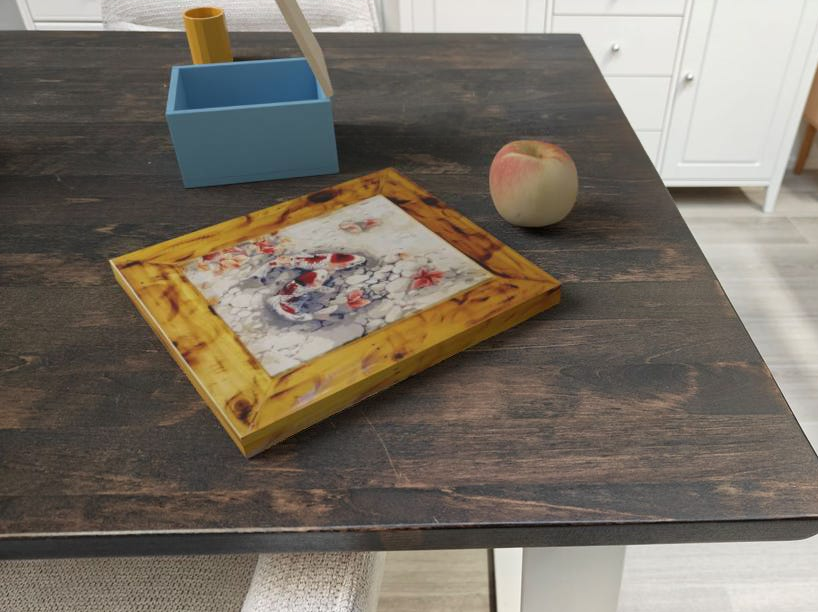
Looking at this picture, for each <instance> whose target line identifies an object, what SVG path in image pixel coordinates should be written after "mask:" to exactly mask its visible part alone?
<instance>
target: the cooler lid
mask: <svg viewBox="0 0 818 612" xmlns="http://www.w3.org/2000/svg"><path fill="white" fill-rule="evenodd" d="M274 2H275V3H276V5H277V8H278V9H279V11H280V13H281V15H282V17H283V19H284V21H285V23H286V24H287V26H288V28H289V30H290V31H291V34H292V35H293V38H294V39H295V41H296V43H297V45H298V47H299V48H300V51H301V53H302V55H303V56H304V57H305V58H306V60H307V62H308V64H309V65H310V67H311V69H312V71H313V73H314V75H315V77H316V79H317V80H318V82H319V84H320V86H321V88H322V90H323V92H324V94H325V95H326V97H327V98H329V97H330V98H331V97H333V96H334V90H333V87H332V83H331V79H330V76H329V71H328V67H327V64H326V61H325V57H324V53H323V50H322V48H321V46H320V44H319V42H318V39H317V38H316V36H315V34H314V32H313V30H312V28H311V26H310V24H309V23H308V20H307V19H306V17H305V15H304V13H303V11H302V9H301V7H300V5H299V3H298V1H297V0H274Z"/></svg>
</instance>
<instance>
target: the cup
mask: <svg viewBox="0 0 818 612" xmlns="http://www.w3.org/2000/svg"><path fill="white" fill-rule="evenodd" d="M181 16H182V21H183V25H184V30H185V33H186V38H187V42H188V47H189V51H190V55H191V60H192V65H200V64H214V63H229V62H235V61H234V55H233V50H232V45H231V38H230V34H229V29H228V24H227V19H226V14H225V10H224V9H223V8H220V7H218V6H217V7H216V6H196V7H192V8H189V9H186V10H183V12H182V13H181Z"/></svg>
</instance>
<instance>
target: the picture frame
mask: <svg viewBox="0 0 818 612" xmlns="http://www.w3.org/2000/svg"><path fill="white" fill-rule="evenodd" d="M108 261H109V263H110V267H111V269H112V272H113V275H114V277H115V280H116V282H117V283H118V284H119V286H120V287H121V289H123V291H124V292H125V295H126V296H127V297H128V298H129V299H130V301H131V302H132V304H133V305H134V306H135V308H136V309H137V311H138V312H139V314H141V316H142V318H143V319H144V320H145V322H146V323H147V324H148V326H149V327H150V328H151V330H152V331H153V333H154V334H155V336H157V338H158V339H159V341H160V342H161V344H162V345H163V346H164V347H165V349H166V350H167V352H168V351H169V352H168V353H169V355H170V356H171V357H172V358H173V360H174V361H175V363H176V362H177V363H176V365H178V367H179V366H180V367H179V368H180V370H181V371H182V370H183V371H182V373H183V374H184V375H185V374H186V375H185V376H186V377H188V378H187V379H188V380H189V382H190V381H191V382H190V384H191V385H192V386H193V387H194V389H195V388H196V389H195V390H196V392H197V393H198V394H199V395H200V397H201V398H202V399H203V401H204V402H205V404H206V405H207V406H208V408H209V410H210V411H211V413H213V415H214V417H216V419H217V420H218V422H219V421H220V422H219V423H220V424H221V426H222V427H223V429H224V430H225V431H226V433H227V434H228V435H229V437H230V438H231V440H232V441H233V443H236V444H235V445H236V447H237V448H238V450H240V452H241V453H242V455H243V456H244V458H245V459H246V460H248V459H250V458H252V457H254V456H256V455H259V454H260V453H262V452H264V451H266V450H268V449H270V448H272V447H273V446H272V445H274V446H276V445H278V444H280V443H282V442H284V441H286V440H287V439H286V438H288V437H290V436H292V435H293V434H295V433H297V432H299V431H300V430H303V429H304V428H308V427H309V426H310V425H313V424H314V423H316V422H319V421H320V420H321V419H324V418H327V417H328V416H330V415H332V414H333V413H336V412H339V411H340V410H341V409H344V408H345V407H348V406H349V405H352V404H354V403H356V402H358V401H360V400H362V399H363V398H366V397H368V396H370V395H372V394H374V393H376V392H379V391H380V390H382V389H384V388H386V387H388V386H391V385H393V384H394V383H397V382H399V381H402V380H403V379H405V378H407V377H410V376H412V375H413V374H415V373H418V372H420V371H422V370H425V369H426V368H428V367H430V366H432V365H433V364H437V363H439V362H441V361H442V360H444V359H446V358H448V357H451V356H453V355H455V354H457V353H459V352H461V351H463V350H465V349H467V348H469V347H471V346H473V345H475V344H477V343H479V342H481V341H483V340H485V341H487V340H489V339H491V338H493V337H495V336H497V335H499V334H501V333H503V332H505V331H508V330H509V329H511V328H513V327H515V326H517V325H519V324H522V323H523V322H525V321H527V320H529V319H531V318H533V317H535V316H537V315H539V314H541V313H543V312H545V311H547V310H549V309H551V308H553V307H555V306H557V305H559V304H560V303H561V296H562V288H563V283H562V282H560V281H559V280H558V279H556V278H555V277H553V276H552V275H550V274H549V273H548V272H546V271H544V269H541V268H540V267H539V266H537V265H535V264H534V263H533V262H531V261H530V260H528V259H526V258H525V257H524V256H522V255H521V254H520V253H518V252H516V251H515V250H514V249H513V248H511V247H509V246H508V245H506V244H505V243H503V242H502V241H500V239H497V238H496V237H494V236H493V235H492V234H490V233H489V232H487V231H486V230H484V229H483V228H482V227H480V226H479V225H477V224H476V223H474V222H472V221H471V220H469V219H468V218H467V217H466V216H464V215H462V214H461V213H459V212H458V211H456V210H455V209H453V208H452V207H450V206H449V205H447V204H446V203H445V202H443V201H442V200H440V199H439V198H438V197H436V196H434V195H433V194H431V192H429V191H427V190H425V189H424V188H423V187H422V186H420V185H418V184H417V183H415V182H414V181H412V180H411V179H410V178H408V177H407V176H405V175H404V174H402V173H400V171H398V170H396V169H395V168H394V167H392V166H390V167H387V168H384V169H381V170H378V171H375V172H371V173H369V174H365V175H362V176H360V177H357V178H354V179H350V180H347V181H345V182H341V183H339V184H336V185H332V186H330V187H327V188H323V189H321V190H317V191H314V192H311V193H308V194H305V195H302V196H300V197H296V198H293V199H290V200H287V201H283V202H281V203H278V204H275V205H272V206H268V207H266V208H263V209H259V210H256V211H254V212H250V213H247V214H244V215H241V216H239V217H236V218H233V219H230V220H227V221H223V222H221V223H218V224H214V225H212V226H208V227H205V228H202V229H199V230H196V231H193V232H190V233H187V234H184V235H180V236H178V237H175V238H172V239H170V240H169V239H168V240H166V241H163V242H159V243H156V244H154V245H151V246H147V247H144V248H141V249H137V250H135V251H133V252H129V253H126V254H123V255H120V256H117V257H114V258H111V259H108ZM556 304H557V305H556ZM554 305H555V306H554ZM552 306H553V307H552ZM550 307H551V308H550ZM546 309H547V310H546ZM544 310H545V311H544ZM540 312H541V313H540ZM538 313H539V314H538ZM502 331H503V332H502ZM500 332H501V333H500ZM492 336H493V337H492ZM490 337H491V338H490ZM488 338H489V339H488ZM486 339H487V340H486ZM483 342H484V341H483ZM481 343H482V342H481ZM479 344H480V343H479ZM477 345H478V344H477ZM475 346H476V345H475ZM473 347H474V346H473ZM471 348H472V347H471ZM469 349H470V348H469ZM467 350H468V349H467ZM465 351H466V350H465ZM463 352H464V351H463ZM461 353H462V352H461ZM459 354H460V353H459ZM457 355H458V354H457ZM455 356H456V355H455ZM453 357H454V356H453ZM451 358H452V357H451ZM441 363H442V362H441ZM439 364H440V363H439ZM437 365H438V364H437ZM425 371H426V370H425ZM308 429H309V428H308ZM292 437H293V436H292ZM290 438H291V437H290ZM285 439H286V440H285ZM288 439H289V438H288ZM283 440H284V441H283ZM281 441H282V442H281ZM279 442H280V443H279ZM277 443H278V444H277ZM271 446H272V447H271ZM265 449H266V450H265Z"/></svg>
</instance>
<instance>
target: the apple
mask: <svg viewBox="0 0 818 612" xmlns="http://www.w3.org/2000/svg"><path fill="white" fill-rule="evenodd" d="M488 177H489V178H488V184H489V192H490V195H491V199H492V202H493V205H494V207H495V209H496V211H497V213H498V214H499V216H501V218H502V219H503V220H505V221H506V222H508V223H509V224H511V225H513V226H517V227H523V228H524V227H525V228H527V227H528V228H539V227H546V226H550V225H553V224H557V223H558V222H560V221H562V220H563V219H565V218H566V217H567V216H568V215H569V214H570V213H571V211H572V209H573V208H574V206H575V203H576V201H577V198H578V193H579V176H578V171H577V167H576V163H575V162H574V160H573V159H572V157H571V156H570V154H569V153H568V152H567V151H565V150H564V149H563V148H561V147H560V146H558V145H556V144H553V143H549V142H545V141H541V140H530V139H529V140H526V139H522V140H515V141H510V142H509V143H506V144H504V145H503V146H502V147H501V148H500V149H499V150H498V151H497V153H496V154H495V156H494V157H493V159H492V162H491V165H490V169H489V176H488Z"/></svg>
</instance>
